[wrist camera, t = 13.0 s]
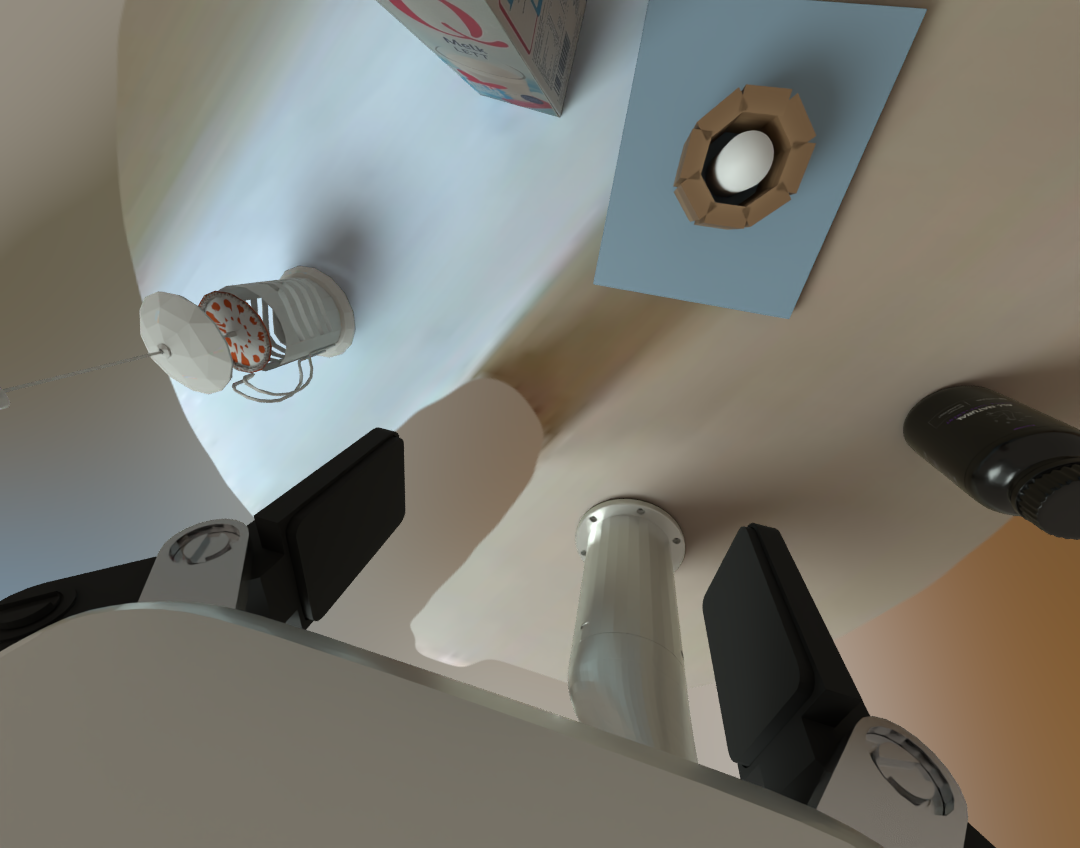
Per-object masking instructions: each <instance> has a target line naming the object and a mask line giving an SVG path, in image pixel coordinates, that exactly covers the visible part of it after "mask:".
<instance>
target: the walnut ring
mask: <svg viewBox="0 0 1080 848" xmlns="http://www.w3.org/2000/svg"><path fill="white" fill-rule="evenodd" d="M791 92H792V89H787V88H777V87H767V86H757V85H748V84H746V85H745V87H744V88H743V89H742V91H741V90H740V88H739V87H738V88H737V89H736V90H735V91H733V92H732V93H731V94H730V95H729V96H727V97H726V98H725V99H724V100H723V101H721V102H720V103H719V104H718V105H717V106H715V107H714V108H713V109H712V110H711V111H709V112H708V113H707V114H706V115H705V116H703V117H702V118H701V119H700V120H699V121H697V123H696V125H695V127H694V128H693V129H692V131H691V133H690V135H689V137H688V138H687V140H686V142H685V144H684V146H683V150H682V154H681V157H680V161H679V165H678V169H677V173H676V177H675V181H674V184H673V187H677V189H676V190H675V191H674V194H675V196H676V198H677V199H678V201H679V203H680V205H681V207H682V209H683V210H684V212H685V214H686V216H687V218H688V220H689V221H690V222H692V221H695V222H694V225H699V226H705V227H712V228H719V229H725V230H732V229H744V228H746V227H751V226H753V225H754V224H756V223H757V222H759V221H760V220H762V219H763V218H765V217H766V216H768V215H769V214H771V213H772V212H774V211H775V210H777V209H778V208H780V207H781V206H783V205H784V204H786V203H787V202H789V201H790V200H791V197H790V195H792V194H796V193H797V191H798V188H799V186H800V183H801V181H802V178H803V175H804V173H805V170H806V168H807V165H808V163H809V160H810V158H811V155H812V153H813V150H814V147H815V145H816V143H809V142H808V141H810V140H811V139H813V138H814V137H815V136H816V134H815V131H814V129H813V127H812V124H811V122H810V120H809V117H808V115H807V113H806V111H805V108H804V106H803V104H802V101H801V99H800V97H799V94H798V93H797V94H796V95H795V96H793V97H792V98H791V99H790V100H789V98H790V95H791ZM752 130H754V131H760V132H762V133H764V134H766V135H767V136H768V137H769V139H770V140H771V142H772V145H773V149H774V157H773V162H772V165H771V167H770V169H769V171H768V173H767V174H766V176H765V177H764V178H763V179H762V180H761V181H760V182H759V184H758V186H757V189H756V192H755V193H754V194H753V195H752V196H750V197H749V198H747V199H746V200H745V201H743V202H742V203H740V204H739V205H730V204H723V203H716V202H715V201H714V199H713V197H712V195H711V193H710V191H709V189H708V188H707V186H706V184H705V182H704V180H703V178H702V176H701V172H702V169H703V165H704V162H705V158H706V155H707V151H708V148H709V145H710V144H711V143H712V142H714V141H715V140H716V139H717V138H719V137H720V136H721V135H722V134H724V133H725V132H729V133H737V134H741V133H743V132H746V131H752Z"/></svg>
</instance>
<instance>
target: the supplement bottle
mask: <svg viewBox="0 0 1080 848" xmlns="http://www.w3.org/2000/svg"><path fill="white" fill-rule="evenodd" d="M903 433H904V438H905V440H906V442H907V443H908V445H909V446H910V447H911V448H912V449H913V450H914V451H915V452H916V453H918V454H919V455H920V456H921V457H922V458H924V459H925V460H926V461H927V462H929V463H930V464H931V465H932V466H934V467H935V468H936V469H937V470H938V471H940V472H941V473H942V474H943V475H945V476H946V477H947V478H948V479H950V480H951V481H952V482H953V483H954V484H956V485H957V486H958V487H959V488H961V489H962V490H963V491H964V492H966V493H967V494H968V495H969V496H971V497H972V498H973V499H974V500H976V501H977V502H978V503H980V504H981V505H983V506H985V507H986V508H988V509H991V510H993V511H996V512H999V513H1003V514H1007V515H1013V516H1022V517H1023V518H1024V519H1026V520H1028V521H1030V522H1032V523H1033V524H1034V525H1036V526H1037V527H1038V528H1040V529H1041V530H1043V531H1045V532H1046V533H1048V534H1050V535H1054V536H1056V537H1063V538H1065V539H1076V540H1078V539H1080V430H1079V429H1077V428H1075V427H1072V426H1070V425H1068V424H1066V423H1064V422H1062V421H1059V420H1057V419H1055V418H1053V417H1051V416H1048V415H1046V414H1044V413H1042V412H1040V411H1037V410H1035V409H1033V408H1031V407H1029V406H1026V405H1024V404H1022V403H1020V402H1018V401H1015V400H1013V399H1011V398H1009V397H1007V396H1004V395H1002V394H1000V393H997V392H995V391H993V390H990V389H987V388H984V387H979V386H957V387H951V388H947V389H944V390H941V391H938V392H936V393H933V394H931V395H929V396H928V397H926V398H924V399H923V400H922V401H920V402H919V403H918V404H917V405H916V406H915V407H914V408H913V409H912V410H911V411H910V412H909V414H908V416H907V417H906V420H905V422H904V427H903Z"/></svg>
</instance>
